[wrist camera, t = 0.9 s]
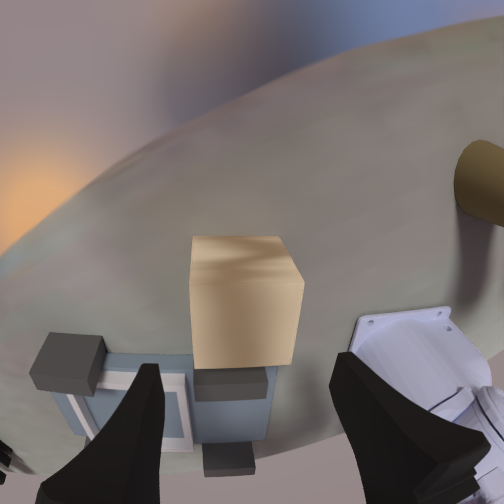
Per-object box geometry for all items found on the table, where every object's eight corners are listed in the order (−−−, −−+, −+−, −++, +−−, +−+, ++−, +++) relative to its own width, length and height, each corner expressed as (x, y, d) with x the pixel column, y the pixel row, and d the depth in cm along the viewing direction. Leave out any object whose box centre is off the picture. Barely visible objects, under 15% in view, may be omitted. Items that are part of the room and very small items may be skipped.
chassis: (275, 335, 22) (289, 380, 18) (261, 436, 27) (268, 472, 24) (36, 331, 19) (14, 370, 15) (82, 431, 25) (74, 466, 21)
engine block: (278, 235, 19) (304, 282, 14) (271, 306, 21) (290, 364, 16) (192, 235, 18) (189, 284, 13) (195, 308, 20) (194, 368, 15)
